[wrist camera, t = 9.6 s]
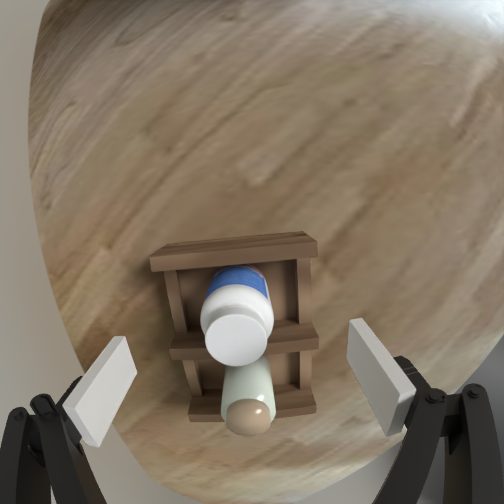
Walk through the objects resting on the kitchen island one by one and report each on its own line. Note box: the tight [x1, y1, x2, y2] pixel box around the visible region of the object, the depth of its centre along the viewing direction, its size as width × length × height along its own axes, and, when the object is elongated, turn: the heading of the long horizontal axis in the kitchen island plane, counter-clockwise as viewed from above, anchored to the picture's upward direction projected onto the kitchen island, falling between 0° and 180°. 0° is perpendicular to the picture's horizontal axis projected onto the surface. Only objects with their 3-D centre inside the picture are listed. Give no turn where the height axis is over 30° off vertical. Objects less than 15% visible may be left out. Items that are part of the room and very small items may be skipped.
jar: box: [221, 355, 276, 436], centre depth 24 cm, size 5×5×9 cm
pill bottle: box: [200, 264, 274, 366], centre depth 22 cm, size 6×5×10 cm
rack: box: [149, 231, 319, 422], centre depth 26 cm, size 18×13×6 cm
